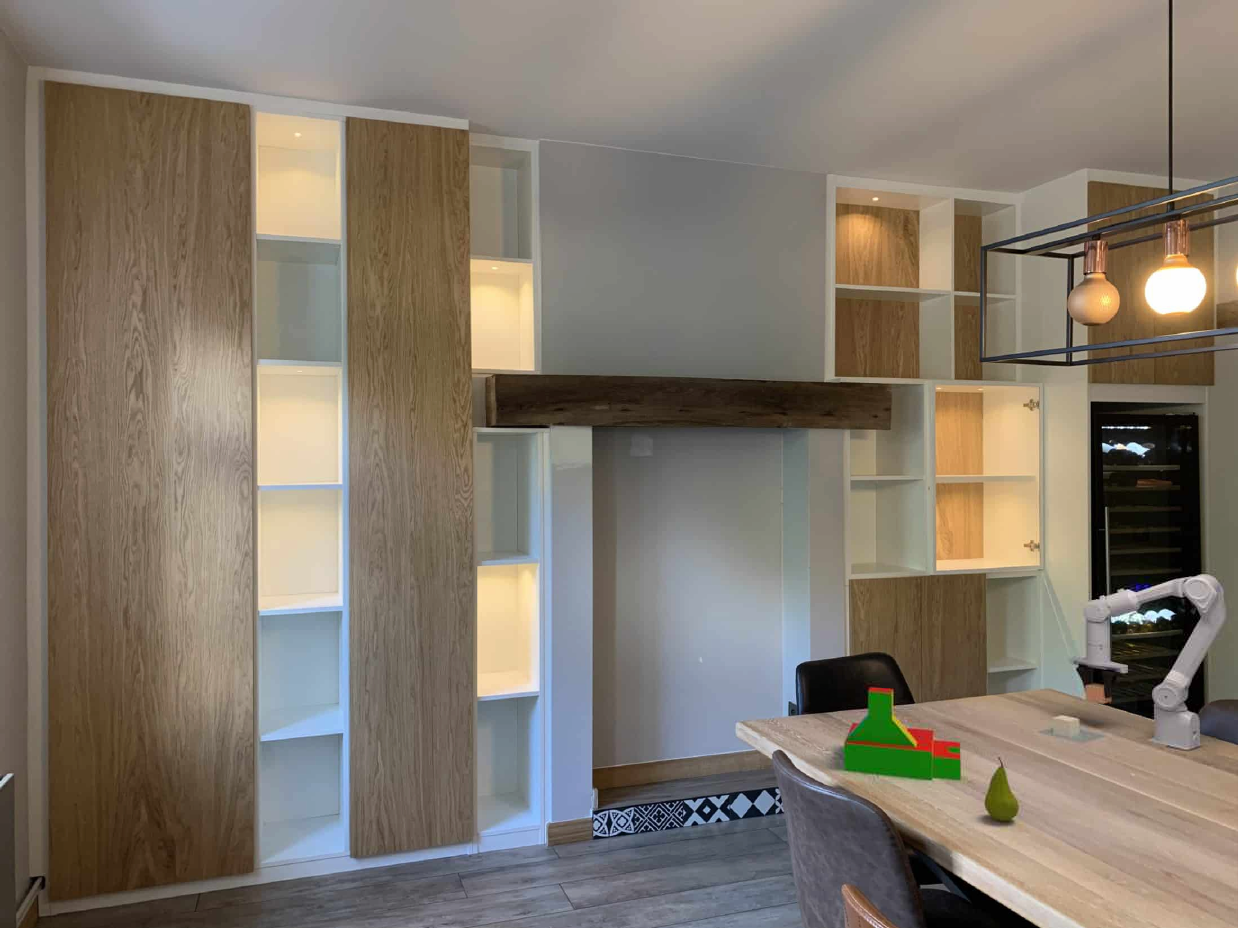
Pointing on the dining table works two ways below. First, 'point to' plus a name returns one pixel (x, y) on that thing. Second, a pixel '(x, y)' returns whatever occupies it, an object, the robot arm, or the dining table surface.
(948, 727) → the dining table surface
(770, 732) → the dining table surface
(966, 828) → the dining table surface
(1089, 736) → the grey square plate
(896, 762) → the building blocks toy
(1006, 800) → the fruit
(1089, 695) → the terracotta block
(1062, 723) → the cream block
